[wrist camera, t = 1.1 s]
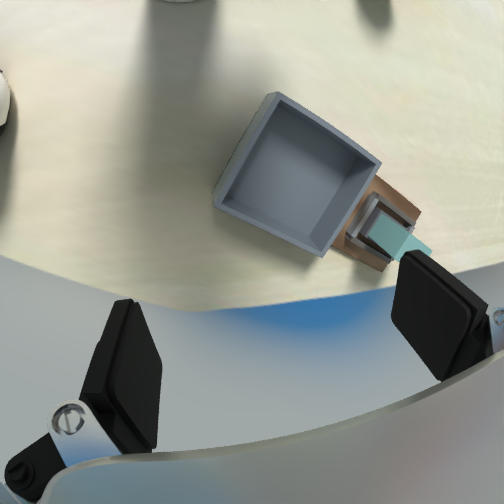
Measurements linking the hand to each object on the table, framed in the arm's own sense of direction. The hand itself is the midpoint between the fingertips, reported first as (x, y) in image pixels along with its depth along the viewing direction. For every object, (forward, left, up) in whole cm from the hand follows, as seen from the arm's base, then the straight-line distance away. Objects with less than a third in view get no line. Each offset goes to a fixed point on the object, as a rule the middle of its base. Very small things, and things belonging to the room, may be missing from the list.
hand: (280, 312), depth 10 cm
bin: (-3, +9, -32) cm, 34 cm away
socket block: (-3, +27, -32) cm, 42 cm away
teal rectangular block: (-3, +27, -31) cm, 41 cm away
